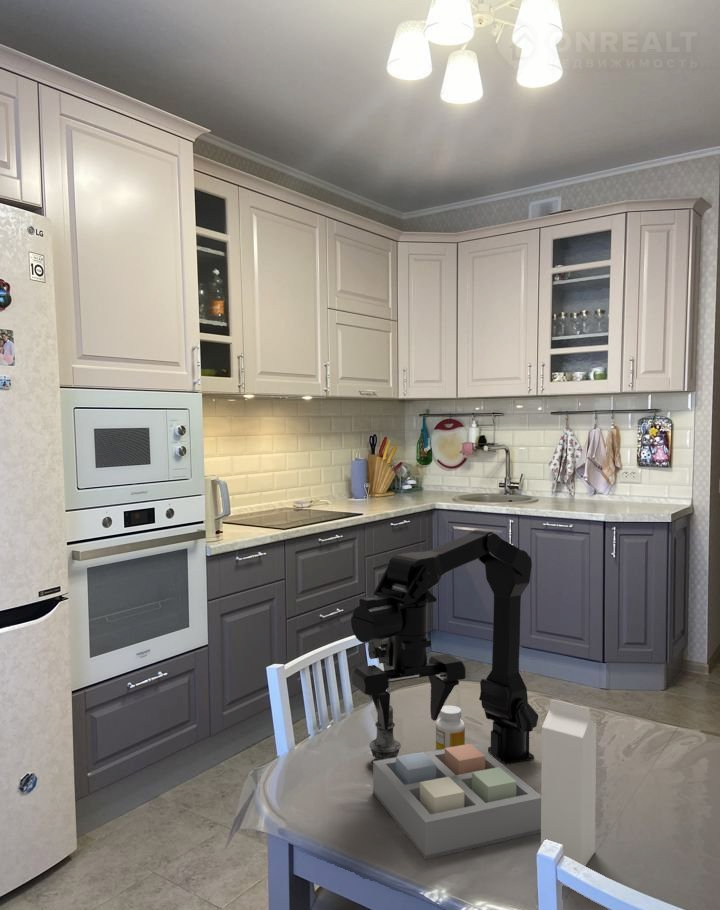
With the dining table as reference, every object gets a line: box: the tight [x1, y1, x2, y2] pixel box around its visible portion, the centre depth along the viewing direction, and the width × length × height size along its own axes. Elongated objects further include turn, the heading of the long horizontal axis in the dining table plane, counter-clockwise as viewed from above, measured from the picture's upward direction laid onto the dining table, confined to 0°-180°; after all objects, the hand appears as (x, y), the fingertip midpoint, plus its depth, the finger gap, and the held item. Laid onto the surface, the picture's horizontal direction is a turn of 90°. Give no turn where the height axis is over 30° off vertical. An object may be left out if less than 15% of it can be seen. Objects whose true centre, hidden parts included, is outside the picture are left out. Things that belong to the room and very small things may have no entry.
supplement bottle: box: [435, 705, 466, 751], centre depth 128 cm, size 5×5×10 cm
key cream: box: [420, 777, 464, 814], centre depth 105 cm, size 5×5×4 cm
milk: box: [540, 699, 597, 866], centre depth 99 cm, size 6×6×22 cm
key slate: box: [396, 751, 436, 785], centre depth 113 cm, size 5×5×4 cm
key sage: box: [472, 767, 516, 803], centre depth 108 cm, size 5×5×4 cm
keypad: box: [372, 743, 541, 861], centre depth 111 cm, size 20×20×5 cm
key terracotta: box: [445, 743, 485, 775], centre depth 117 cm, size 5×5×4 cm
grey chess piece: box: [369, 705, 402, 768], centre depth 127 cm, size 6×6×12 cm
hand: (409, 724), depth 114 cm, fingers open, 9 cm apart
